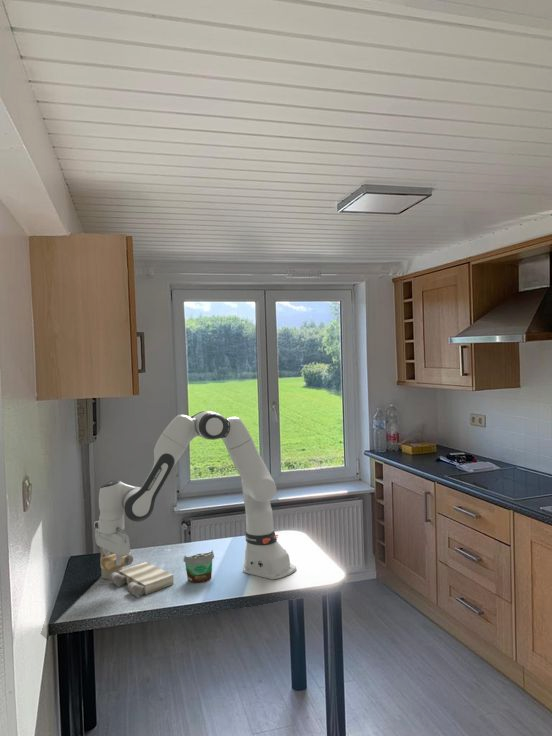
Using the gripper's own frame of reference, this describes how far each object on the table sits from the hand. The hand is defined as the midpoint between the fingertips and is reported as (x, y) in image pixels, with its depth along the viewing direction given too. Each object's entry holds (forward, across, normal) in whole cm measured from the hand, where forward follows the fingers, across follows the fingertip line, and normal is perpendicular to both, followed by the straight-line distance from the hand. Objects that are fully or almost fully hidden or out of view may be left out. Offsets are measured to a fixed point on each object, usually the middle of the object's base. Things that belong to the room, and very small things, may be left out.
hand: (113, 562), depth 189 cm
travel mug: (+12, +16, -7) cm, 21 cm away
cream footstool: (+11, 0, -11) cm, 16 cm away
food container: (+11, -16, -28) cm, 34 cm away
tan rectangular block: (+2, 0, -2) cm, 2 cm away
